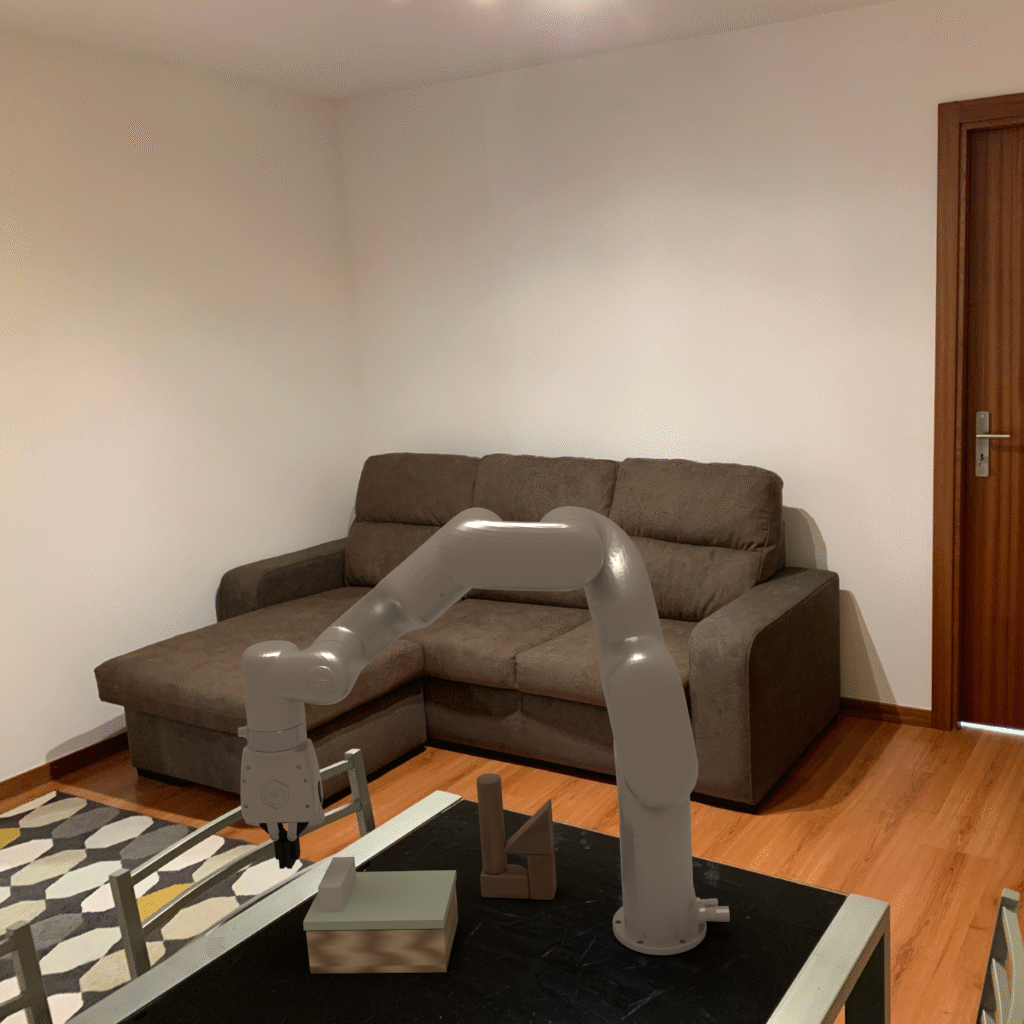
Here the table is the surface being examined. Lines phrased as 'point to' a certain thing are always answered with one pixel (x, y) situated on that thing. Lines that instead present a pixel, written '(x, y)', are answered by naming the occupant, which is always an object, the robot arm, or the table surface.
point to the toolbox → (383, 948)
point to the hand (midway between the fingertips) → (288, 863)
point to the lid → (380, 899)
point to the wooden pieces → (514, 848)
